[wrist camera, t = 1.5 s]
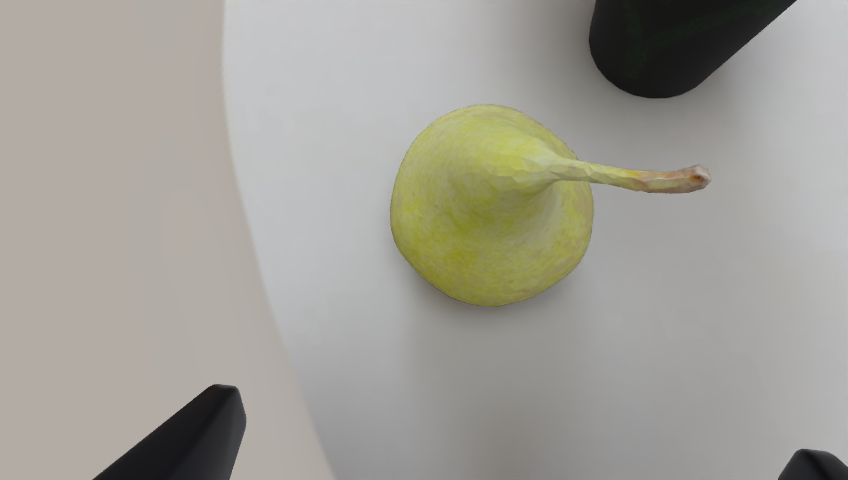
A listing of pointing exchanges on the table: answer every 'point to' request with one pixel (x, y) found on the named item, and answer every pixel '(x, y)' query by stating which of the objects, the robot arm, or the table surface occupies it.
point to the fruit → (503, 204)
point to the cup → (672, 40)
